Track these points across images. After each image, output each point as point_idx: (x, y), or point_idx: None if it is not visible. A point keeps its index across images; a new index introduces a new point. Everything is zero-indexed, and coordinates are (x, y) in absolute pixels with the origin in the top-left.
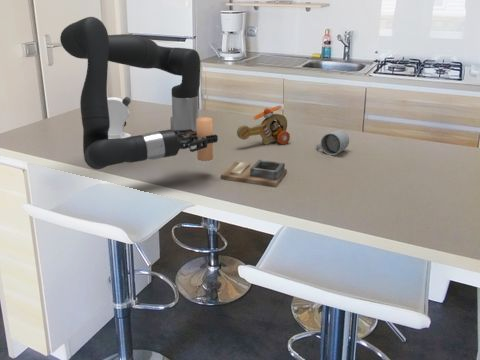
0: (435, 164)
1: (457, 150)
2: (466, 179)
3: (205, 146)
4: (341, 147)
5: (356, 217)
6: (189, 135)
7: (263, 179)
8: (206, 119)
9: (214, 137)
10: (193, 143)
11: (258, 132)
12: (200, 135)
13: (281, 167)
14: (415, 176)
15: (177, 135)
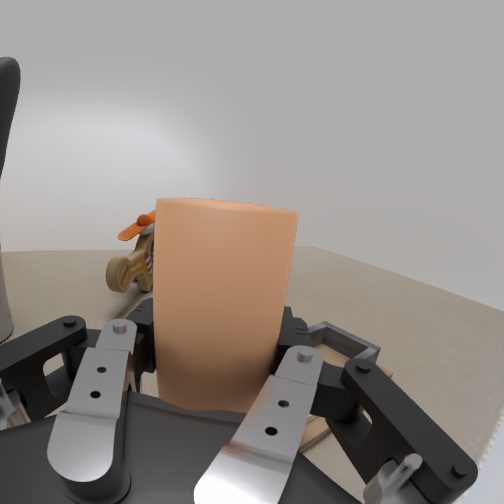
0: (341, 264)
1: (312, 249)
2: (383, 270)
3: (362, 415)
4: None
5: (489, 343)
6: (243, 429)
7: None
8: (240, 205)
9: (306, 326)
10: (471, 459)
11: (140, 268)
12: (246, 355)
13: (348, 333)
14: (370, 279)
15: (45, 476)
